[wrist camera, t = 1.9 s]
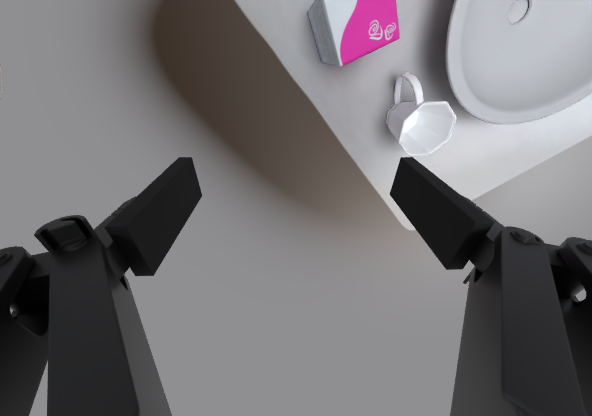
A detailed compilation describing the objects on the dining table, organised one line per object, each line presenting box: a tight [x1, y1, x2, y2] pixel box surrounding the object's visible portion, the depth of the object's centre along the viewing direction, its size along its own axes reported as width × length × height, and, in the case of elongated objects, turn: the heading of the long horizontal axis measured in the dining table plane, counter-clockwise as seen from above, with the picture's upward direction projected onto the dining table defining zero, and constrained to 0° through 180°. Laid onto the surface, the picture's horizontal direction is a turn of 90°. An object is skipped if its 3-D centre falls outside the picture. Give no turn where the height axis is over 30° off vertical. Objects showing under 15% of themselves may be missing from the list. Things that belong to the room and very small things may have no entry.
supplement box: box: [307, 0, 400, 67], centre depth 23 cm, size 6×6×11 cm
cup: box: [386, 72, 457, 156], centre depth 29 cm, size 7×10×8 cm
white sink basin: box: [446, 0, 592, 124], centre depth 24 cm, size 24×24×7 cm
